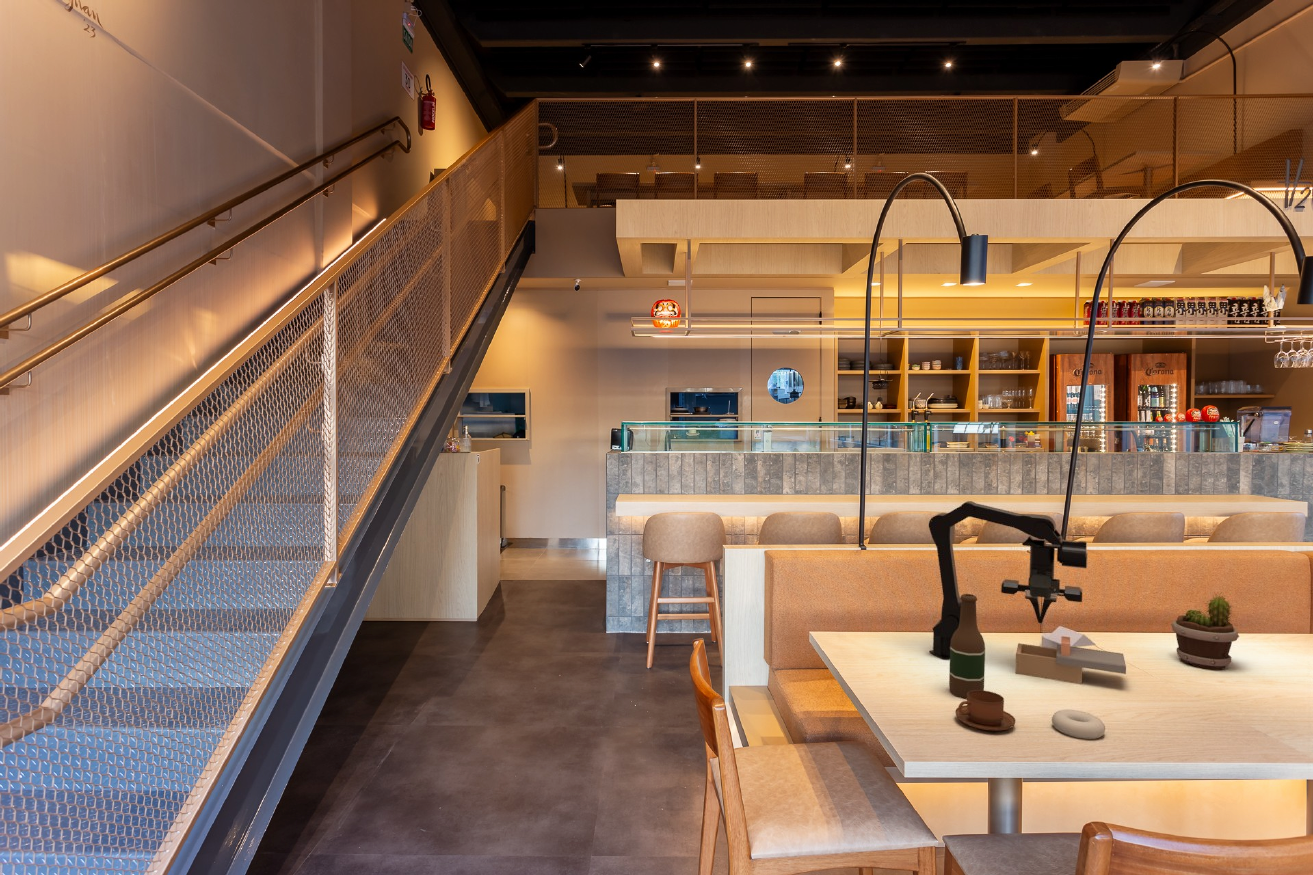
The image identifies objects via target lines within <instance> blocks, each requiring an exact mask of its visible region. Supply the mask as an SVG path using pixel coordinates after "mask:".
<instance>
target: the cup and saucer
mask: <svg viewBox="0 0 1313 875" xmlns="http://www.w3.org/2000/svg"><path fill="white" fill-rule="evenodd" d="M1004 706H1005V698H1004V697H1003V695H1001V694H998V693H996V692H993V691H990V690H989V691H988V690H984V691H983V690H973V691H969V692H968V693H967V699H966V700H964V701H963V700H962V701H961V702H960V703H959V704H958V707H957V708H955V715H956V717H957V718H958V719H959V721H961V722H962V723H963V724H966V725H968V726H970V727H972V728H974V729H979V730H982V731H990V732H991V731H993V732H1000V731H1006V730H1009V729H1011V728H1012V727H1014V726H1015V724H1016V718H1015V717H1014V716H1013V715H1012V714H1011V713H1009V712H1007V711H1005V709H1004V708H1005V707H1004Z"/></svg>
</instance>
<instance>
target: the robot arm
mask: <svg viewBox="0 0 1313 875" xmlns="http://www.w3.org/2000/svg"><path fill="white" fill-rule="evenodd" d="M968 518H975V519H977V520H982V521H986V522H989V523H994V524H999V525H1001V526H1006V527H1008V528H1009V527H1010V528H1013V529H1016V530H1019V531H1020V532H1022V533H1024V534H1026V535H1028V537H1027V539H1025V540H1024V541H1023V542H1022V543H1021V545H1022V546H1025V547H1029V549H1030V550H1029V551H1030V552H1029V572H1028V573H1029V576H1028V581H1027V582H1028V584H1020V581H1019V580H1016V579H1003V581H1002V582H1001V588H1000V593H1002V594H1007V595H1016V594H1017V593H1018V592H1020V593H1021V592H1022V593H1024V594H1025V596H1024V599H1026V600H1029V601H1030V603H1031V606H1032V607H1033V610H1034V613H1035V617H1036V620H1037V622H1038V624H1042V623H1043V622H1044V619H1045V616H1046V614H1047V611H1048V609H1049V608H1050V606H1051V604H1052V603H1057V601H1058V600H1057V599H1058V597H1064V599H1066V600H1067V601H1068V602H1076V603H1082V602H1083V589H1082V588H1081V587H1079V586H1072V585H1064V588H1060V586H1061V584H1060V583H1061V580H1060V579H1058V578H1055V552H1056V562H1059V564H1061V567H1067V568H1068V567H1070V568H1079V569H1087V567H1088V552H1087V548H1088V547H1087V541H1084V540H1079V541H1078V540H1077V541H1075V540H1066V539H1065V540H1064V537H1063V535H1061V534H1060V533H1059V531H1058V530H1057V525H1056V521H1055V520H1054V519H1053V518H1052V517H1051V516H1049V515H1047V514H1036V513H1019V512H1014V511H1010V510H1005V509H1001V508H998V507H993V506H990V505H989V506H988V505H985V504H981V503H977V502H974V501H972V500H968V501H965V502H963V503H962V504H961V505H960V506H958V507H957V508H955V509H953V510H951V511H949V512H947V513H946V512H940V513H938V514H936V515H933V516H932V517H931V519H930V520H929V521H928V529H929V532H930V535H931V539H932V540H933V542H934V544H935V546H936V551H937V557H938V558H937V559H938V566H939V573H940V580H941V581H940V583H941V589H942V596H943V597H942V598H943V600H942V606H941V613H940V615H941V617H940V618H941V619H940V620H939V621H938V622H936V624H935V625H934V626H933V627H932V632H933V633H932V634H933V635H932V636H933V637H932V639H933V640H932V641H933V642H932V649H931V650H930V649H929V653H930V654H931V655H934V656H936V657H938V658H940V659H942V660H950V644H951V638H952V636H953V634H954V632H955V631H956V630H957V628H958V626H959V622H960V612H961V601H962V600H961V599H960V598H961V595H960V593H959V592H960V591H959V584H958V576H957V569H956V560H955V554H954V539H955V538H954V537H955V527H956V525H957V524H959V523H960V522H963V521H964V520H966V519H968ZM1033 537H1034V538H1033ZM1046 542H1048V543H1046ZM1055 549H1057V551H1055ZM1039 598H1043V601H1042V606H1041V608H1040V599H1039Z"/></svg>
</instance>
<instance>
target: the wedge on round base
mask: <svg viewBox="0 0 1313 875" xmlns="http://www.w3.org/2000/svg"><path fill="white" fill-rule="evenodd" d="M1062 636H1064V637H1070V646H1072V647H1079V648H1082V647H1090V646H1097V644H1096V643H1095V642H1093V641H1092V640H1091V639H1090V638H1089V637H1087V635H1085V634H1084V633H1082V632H1077V631H1076V630H1072V629H1069V628H1067V627H1063V626H1062V625H1059V626H1058V627H1057V628H1056V629H1054V631H1053V632H1046V633H1042V634H1041V646H1042V647H1049V648H1056V649H1057V645H1061V637H1062Z"/></svg>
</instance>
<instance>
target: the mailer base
mask: <svg viewBox="0 0 1313 875" xmlns="http://www.w3.org/2000/svg"><path fill="white" fill-rule="evenodd" d="M1056 655H1057V649H1056V648H1049V647H1042V645H1041V646H1039V645H1035V644H1027V643H1019V642H1018V644H1017V648H1016V652H1015V674H1016V675H1023V676H1029V677H1035V678H1042V679H1046V680H1047V679H1048V680H1055V681H1061V682H1068V683H1074V684H1078V685H1082V682H1083V680H1082V679H1083V668H1082V667H1075V666H1068V665H1062V664H1056Z"/></svg>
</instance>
